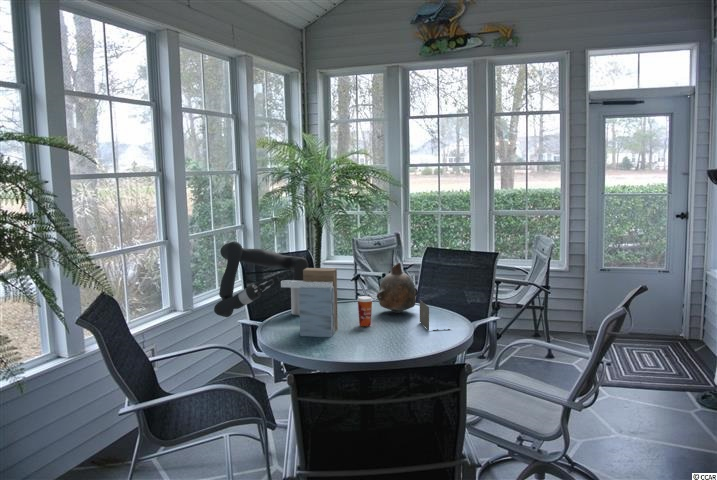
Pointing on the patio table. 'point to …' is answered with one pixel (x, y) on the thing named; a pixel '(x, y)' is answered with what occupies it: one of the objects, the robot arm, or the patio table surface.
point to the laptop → (424, 314)
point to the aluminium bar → (307, 284)
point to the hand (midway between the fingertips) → (275, 279)
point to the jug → (397, 291)
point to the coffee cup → (364, 310)
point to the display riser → (318, 304)
